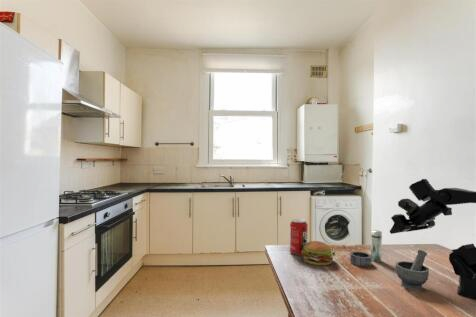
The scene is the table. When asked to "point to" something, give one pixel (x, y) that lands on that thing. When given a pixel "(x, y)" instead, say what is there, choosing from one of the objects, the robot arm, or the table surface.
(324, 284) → the table surface
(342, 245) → the table surface
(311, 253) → the food
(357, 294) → the table surface
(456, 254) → the robot arm
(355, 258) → the collar ring
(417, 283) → the mortar and pestle
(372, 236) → the tube
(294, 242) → the soda can
